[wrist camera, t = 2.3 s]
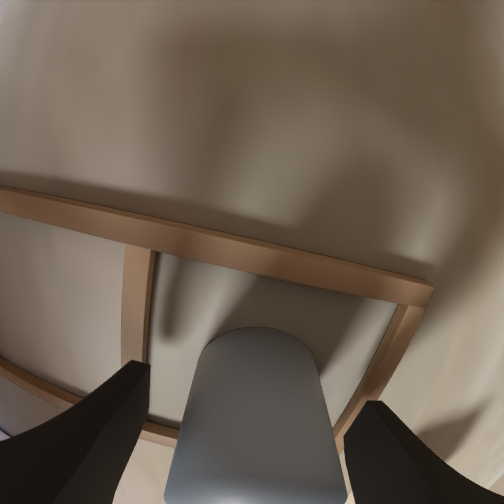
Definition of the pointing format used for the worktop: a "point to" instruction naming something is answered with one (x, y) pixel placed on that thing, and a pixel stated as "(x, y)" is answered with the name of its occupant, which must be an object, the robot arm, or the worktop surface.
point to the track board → (227, 255)
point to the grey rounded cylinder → (256, 426)
